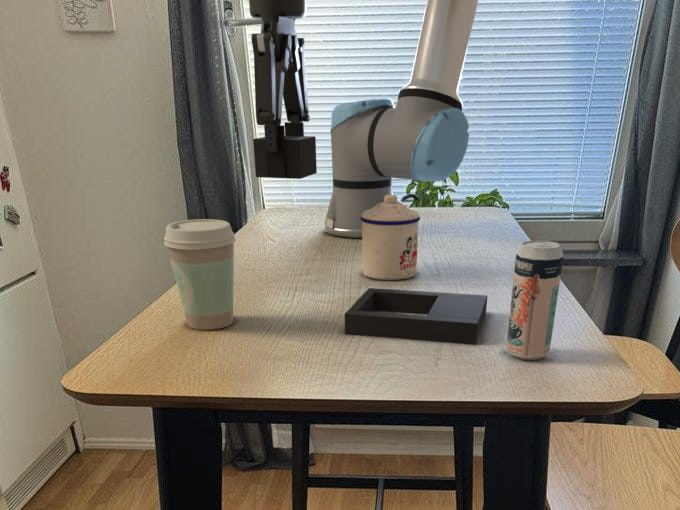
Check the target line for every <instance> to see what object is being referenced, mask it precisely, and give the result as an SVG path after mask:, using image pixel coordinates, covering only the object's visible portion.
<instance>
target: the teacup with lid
mask: <svg viewBox="0 0 680 510" xmlns="http://www.w3.org/2000/svg"><path fill="white" fill-rule="evenodd" d="M397 200H398V196H397V195H396V194H393V195H385V197H384V202H382V203H379V204H377V205H376V206H375V207H373V208H372V209H369V210H366V211H364V212H363V213H362V215H361V220H362V238H361V239H362V241H361V244H362V245H361V247H362V250H361V255H362V260H361V261H362V268H361V269H362V270H361V271H362V274H363V275H364V276H365V277H367V278H368V279H369V278H370V279H373V280H379V281H401V280H407V279H411V278H412V277H414V276H416V274H417V272H418V271H417V269H418V266H417V265H418V247H419V246H418V242H419V221H420V220H421V217H420V213H419V212H418V211H417V210H414V209H411V208H409V207H408V206H407V205H405V203H404V204H402V203H403V202H402V203H399V202H397Z"/></svg>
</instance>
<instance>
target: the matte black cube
mask: <svg viewBox="0 0 680 510" xmlns="http://www.w3.org/2000/svg"><path fill="white" fill-rule="evenodd" d="M316 138H317V137H316V136H313V135H304V136H285V148H286V166H287V177H268V174H267V160H266V145H265V136H260V137H256V138H252V144H253V145H252V146H253V157H254V170H255V171H254V172H255V177H256V178H262V179H263V178H264V179H265V178H266V179H267V178H268V179H292V180H293V179H294V180H295V179H296V180H302V179H305V178H307V177H309V176H312V175H316V174H317V173H318V172H317V169H318V168H317V139H316Z"/></svg>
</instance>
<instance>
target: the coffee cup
mask: <svg viewBox="0 0 680 510" xmlns="http://www.w3.org/2000/svg"><path fill="white" fill-rule="evenodd" d="M235 235H236V234H235V232H233V229H232V226H231V224H230V222H228V221H226V220H222V219H210V218H209V219H207V218H203V219H199V218H198V219H187V220H180V221H175V222H171V223H169V224H167V225H166V229H165V235H164V237H163V239H164V242H163V245H164V246H165V247H167V253H168V255H169V260H170V263H171V266H172V271H173V275H174V278H175V282H176V285H177V289H178V294H179V297H180V301H181V306H182V308H183V309H182V310H183V312H184V316H185V320H186V323H187V326H188V327H189V328H191V329H195V330H200V331H212V330H213V331H214V330H218V329H219V330H220V329H223V328H227V327H229V326H231V325H232V324H233V323H234V300H235V299H234V296H235V295H234V291H235V290H234V289H235V288H234V287H235V286H234V281H235V280H234V279H235V278H234V277H235V276H234V275H235V274H234V273H235V271H234V270H235V266H234V265H235V263H234V262H235V252H234V251H235V249H234V247H235V243H236V241H237V239H236V237H235Z"/></svg>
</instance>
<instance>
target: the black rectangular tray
mask: <svg viewBox="0 0 680 510" xmlns="http://www.w3.org/2000/svg"><path fill="white" fill-rule="evenodd" d="M487 305H488V295H486V294H485V295H484V294H471V293H457V292H455V293H454V292H438V291H426V290H425V291H424V290H409V289H407V290H406V289H395V288H393V289H392V288H377V287H368V288H367V289H366V290H365V291H364V292H363V293H362V295H360V297H359V298H358V299H357V300H356V301H355V302H354V303H353V304H352V305H351V307H349V309H348V310H347V311H346V312H345V313H344V334H345V335H355V336H356V335H357V336H368V337H379V338H380V337H381V338H392V339H393V338H394V339H405V340H406V339H407V340H419V341H431V342H444V343H453V344H454V343H455V344H467V345H468V344H469V345H476V344H477V341H478V339H479V335H480V333H481V330H482V327H483V324H484V321H485V318H486V315H487ZM384 311H385V312H384ZM395 312H396V313H395ZM397 312H398V313H397ZM408 313H409V314H408ZM410 313H413V314H410Z"/></svg>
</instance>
